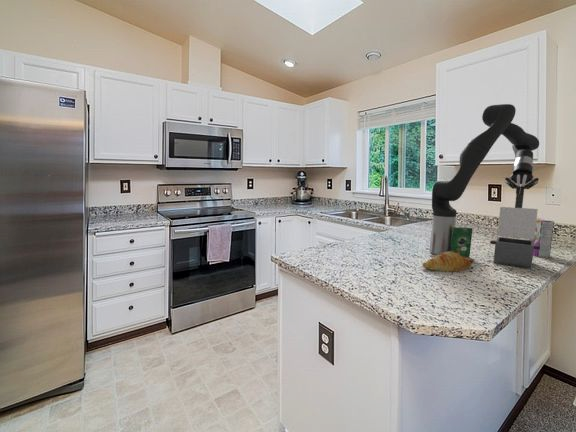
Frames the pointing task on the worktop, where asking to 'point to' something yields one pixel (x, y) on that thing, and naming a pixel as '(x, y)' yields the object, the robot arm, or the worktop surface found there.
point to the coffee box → (461, 240)
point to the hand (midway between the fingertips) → (519, 194)
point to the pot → (514, 252)
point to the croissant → (448, 262)
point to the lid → (517, 220)
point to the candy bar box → (543, 237)
